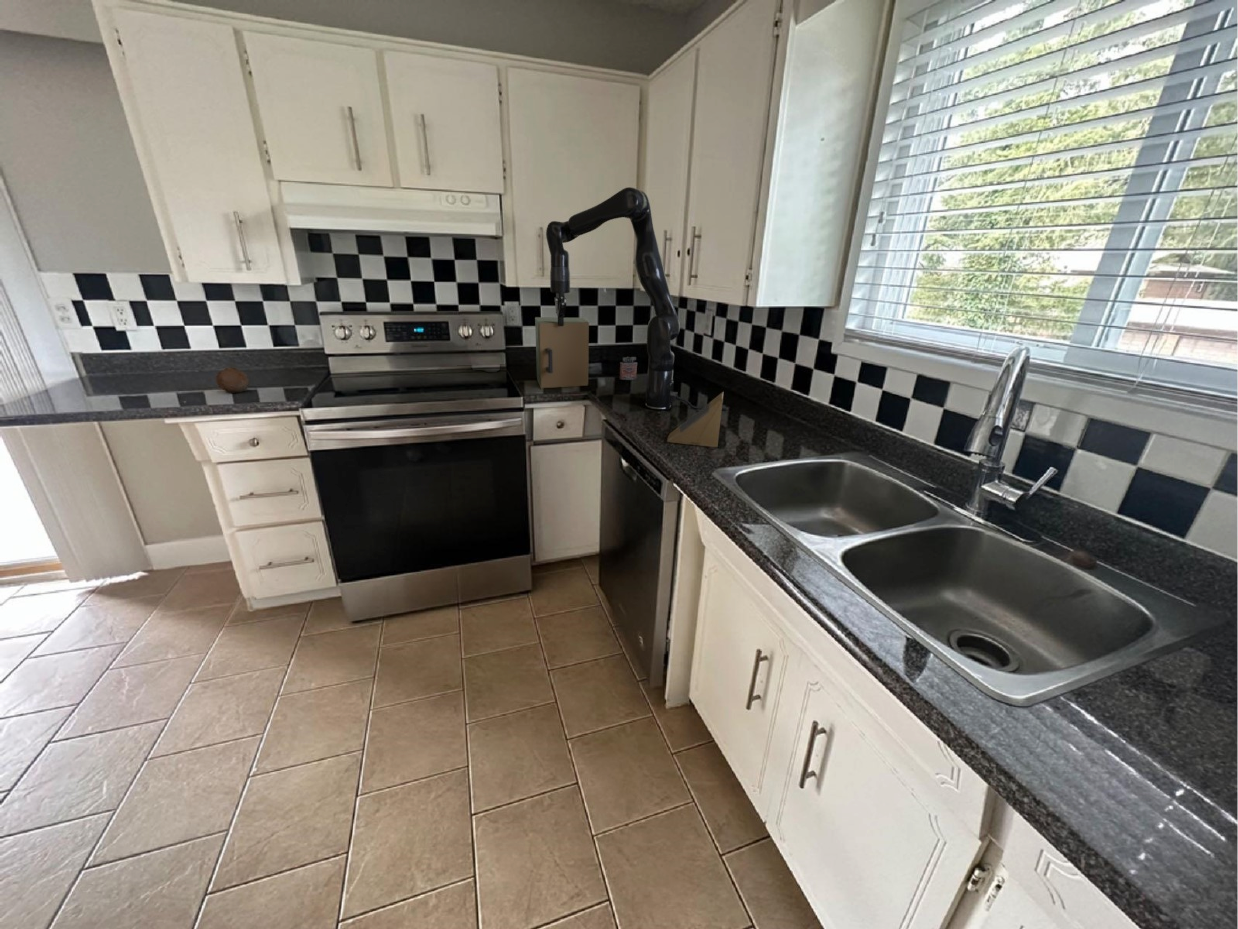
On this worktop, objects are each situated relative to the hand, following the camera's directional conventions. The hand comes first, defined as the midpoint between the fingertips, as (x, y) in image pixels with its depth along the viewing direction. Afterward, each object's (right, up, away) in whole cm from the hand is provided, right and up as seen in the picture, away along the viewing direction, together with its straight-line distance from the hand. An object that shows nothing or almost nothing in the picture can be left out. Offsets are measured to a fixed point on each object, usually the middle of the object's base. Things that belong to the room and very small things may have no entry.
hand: (560, 325), depth 198 cm
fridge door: (+1, -23, +10) cm, 25 cm away
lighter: (+27, -16, +30) cm, 44 cm away
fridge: (-2, -19, +21) cm, 28 cm away
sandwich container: (+46, -48, -44) cm, 79 cm away
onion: (-120, -28, -12) cm, 123 cm away
